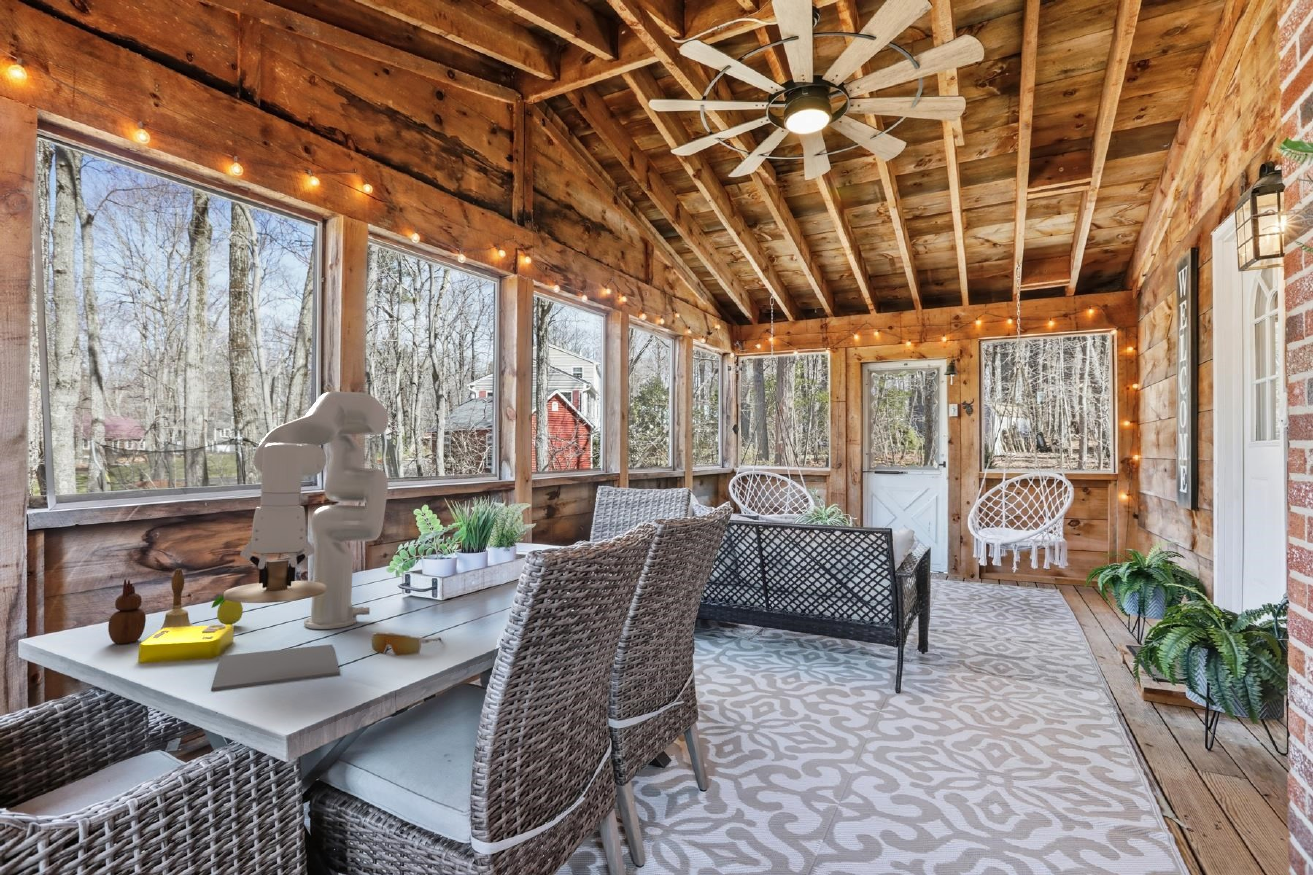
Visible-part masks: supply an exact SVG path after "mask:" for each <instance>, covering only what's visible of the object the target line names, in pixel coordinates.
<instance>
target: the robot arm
mask: <svg viewBox="0 0 1313 875" xmlns="http://www.w3.org/2000/svg"><path fill="white" fill-rule="evenodd" d="M388 427H389V414H388V411H387V409H386V408H385V406H384V405H383V404H382V403H381V402H380V401H379V400H378V399H377V398H375V397H374V396H373V395H370V393H366V392H355V391H353V392H352V391H350V392H349V391H327V392H325V393H322V394H321V395H320V396H319V397H318V399H317V400H316V401H315V402H314V404H313V405H312V406H311V408H309V410H308V411H307V413H306V414H305V415H304V416H303V417H300V418H298V419H294V420H292V421H289V422H287V423H283V424H281V425H279V426H276V427H275V428H273V429H272V430H270V431H269V432H268V433H267V434H266V435H265V436H264V437H263V438H262V440H261V441H260V443H259V444H258V446H257V447H256V449H255V451H254V454H253V465H254V468H255V469H256V471H257V472H258V473H260V474H261V484H260V486H261V487H260V503H259V504H260V506H256V507H255V511H254V515H253V519H252V520H253V521H252V529H251V538H250V540H249V541H248V543H247V544H246V545H245V546H244V548H243V549H242V550H241V551H240V553H239V554H240V557H242V558H244V559H246V560H248V561H250V562H251V563H252V564H254V566H255V567H257V568H258V570H259V572H258V574H259V576H258V583H259V584H260V583H263V587H262V588H265V587H266V584H267V559H268V555H281V554H282V555H283V554H288V556H289V565H288V580H287V586H291V582H292V581H296V567H298V565H299V564H300V563H301V562H303V561H304V560H305V558H308V557H309V556H311V555H312V554H313V566H312V567H313V568H312V569H313V571H312V582H318V583H322V584H325V585H326V591H325V592H324V593H322V594H320V595H318V596H314V597H311V612H310V617H309V618H308V617H307V618H306V619H305V620H304V621H303V626H304V627H305V628H307V629H311V630H313V629H314V630H331V629H341V628H346V627H350V626H352V625H354V624H356V623H357V620H358V619H357V618H358V617H357V616H359V615H360V616H361V615H362V616H364V615H365V616H367V615H368V616H369V615H370V610H371V609H370V607H369V606H367V607H366V606H365V607H364V606H359V607H358V606H357V607H356V606H353V603H352V595H353V594H352V592H353V591H352V590H353V588H352V587H353V569H354V556H353V553H352V551H351V549H350V548H349V546H348V545H347V544H346V542H372V541H377V539H378V538H379V537H380V535H381V533H382V532H383V526H384V520H385V512H386V504H387V498H388V488H389V487H388V486H389V482H388V480H389V479H388V476H387V475H386V472H384V471H383V470H382V469H379V468H373V467H372V468H371V467H370V468H369V467H366V468H365V467H363V464H364V457H365V452H364V450H363V448H362V446H361V445H360V444H359V443H358V442H359V441H357V440H356V439H355V438H354V436H352V435H366V436H369V435H370V436H379V435H381V434H383V433H385V431H386V430H387V428H388ZM326 444H328V445H329V449H330V456H329V461H328V467H327V471H326V477H325V483H324V494H325V497H326V499H328V500H329V501H332V502H341V503H364V504H365V505H349V504H342V505H341V504H330V505H328V504H327V505H324V506H321V507H319V508H316V509H315V510H314V512H313V514H312V516H311V524H310V525H311V530H312V537H313V540H312V541H313V545H312V544H311V543H310V541H309V539H308V538H307V524H306V511H305V510H306V509H305V506H302V505H301V503H304V502H309V495H307V494H306V495H305V494H303V493H302V478H303V477H314V476H317V475H319V474H320V473H322V471H323V470H324V469H325V467H326V464H327V455H326V453H325V452H326V451H324V449H323V448H322V447H321V446H322V445H323V446H324V445H326ZM251 552H252V553H251ZM296 554H298V555H296ZM256 555H259V557H258V556H256Z"/></svg>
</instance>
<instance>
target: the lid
mask: <svg viewBox="0 0 1313 875" xmlns="http://www.w3.org/2000/svg"><path fill="white" fill-rule="evenodd" d="M289 563H290V560H289V559H273V560H272V559H271V560H266V568H267V584H266V587H265V588H262V587H263V583H260V584H259V582H256V583H249V584H242V585H238V586H235V587H230V588H229V589H226V590H225V591H224V592H223V595H224V599H226V600H228V601H233V602H241V604H243V603H245V604H270V603H284V602H293V601H298V600H305V599H309V598H312V597H314V596H318V595H320V594H322V593H324V592H325V591H326V585H325V584H322V583H318V582H313V581H312V580H311V581H308V580H295V581H292V582H291V586H287V580H288V566H289Z"/></svg>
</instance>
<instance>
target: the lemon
mask: <svg viewBox="0 0 1313 875" xmlns="http://www.w3.org/2000/svg"><path fill="white" fill-rule="evenodd" d="M215 607H218V609H217V612H216V615H217V616H216V617H217V620H218V622H219V623H221V625H234V624H236V623H237V622H239V621H240V620H241V619H242V616H243V614H244V613H243V612H244V611H243V610H244V609H243V603H241V602H233V601H228V600H226V599H224V594H223V595H220V596H218V597H216V599H214V601H213V603H212V604H211V609H213V608H215Z"/></svg>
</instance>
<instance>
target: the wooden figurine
mask: <svg viewBox="0 0 1313 875" xmlns="http://www.w3.org/2000/svg"><path fill="white" fill-rule="evenodd" d="M142 600H143V598H142V596H141V594H139V593H136V589H135V586H134V585H133V583H131V580H130V579H128V581H127V579H126V578H125V579H123V587H122V594H120V595H119V596H118V597H117V598H116V599H115V602H114V603H115V604H114V605H115V606H114V607H115V609H116V610H117V611H115V612H114V613H113V614H112V615H111V616H110V618H109V620H108V625H107V626H108V628H107V629H108V630H107V632H108V636H109V637H110V640H111V641H112V642H113V643H114V644H116V645H117V644H118V645H126V644H132V643H135V642H136V641H138V640H140V638H142V635H143V633H144V631H145V627H146V621H147V620H146V619H147V617H146V613H145V611H144V610H143V609H142V608H141V606H142V602H143V601H142Z"/></svg>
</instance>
